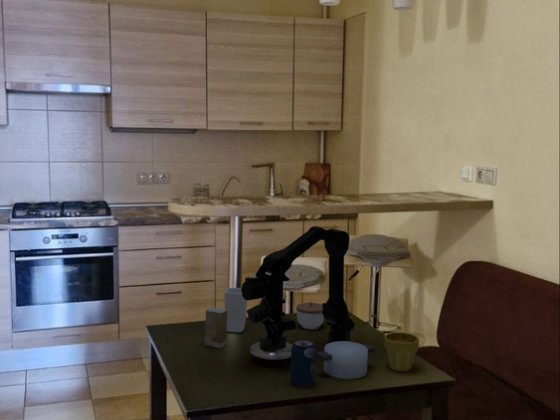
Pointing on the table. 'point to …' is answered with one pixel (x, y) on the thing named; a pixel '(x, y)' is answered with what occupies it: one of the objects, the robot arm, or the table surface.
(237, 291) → the cup
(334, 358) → the pot
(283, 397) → the table surface
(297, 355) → the soda can
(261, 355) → the lid
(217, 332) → the skincare box
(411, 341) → the plant pot
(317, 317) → the lidded jar
